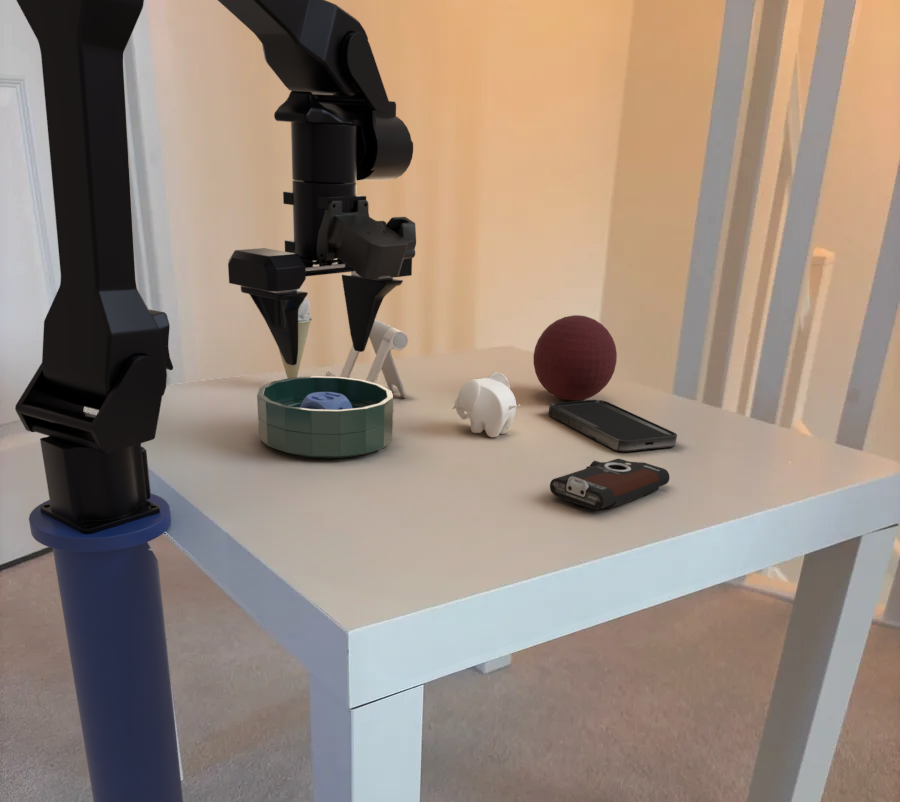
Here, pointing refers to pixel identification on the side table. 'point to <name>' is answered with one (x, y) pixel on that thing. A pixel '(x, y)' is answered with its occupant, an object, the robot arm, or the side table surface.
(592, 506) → the camera
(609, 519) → the side table surface
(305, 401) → the decorative dice
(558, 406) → the phone
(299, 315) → the ice cream cone
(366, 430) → the bowl
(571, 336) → the decorative ball
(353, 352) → the tablet stand
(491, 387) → the elephant figurine
